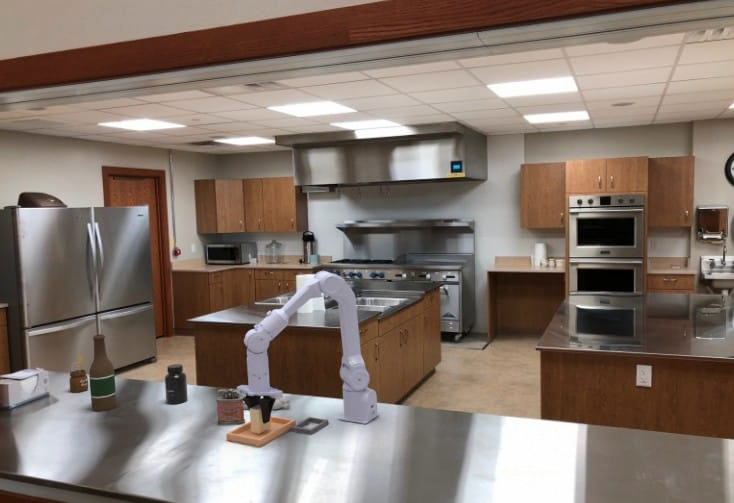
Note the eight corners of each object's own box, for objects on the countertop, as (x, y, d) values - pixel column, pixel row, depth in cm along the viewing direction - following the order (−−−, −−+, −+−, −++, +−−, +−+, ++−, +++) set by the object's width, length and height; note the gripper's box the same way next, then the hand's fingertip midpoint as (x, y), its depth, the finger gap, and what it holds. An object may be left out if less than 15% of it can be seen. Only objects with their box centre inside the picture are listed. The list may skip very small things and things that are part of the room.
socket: (328, 424, 169) (328, 419, 168) (311, 434, 161) (311, 430, 161) (309, 420, 172) (309, 416, 172) (291, 431, 164) (291, 427, 164)
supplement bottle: (165, 405, 191) (162, 369, 190) (167, 399, 198) (164, 364, 197) (187, 403, 193) (184, 367, 192) (188, 396, 199) (186, 362, 199)
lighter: (246, 420, 174) (244, 387, 174) (242, 425, 171) (240, 391, 170) (220, 420, 175) (217, 387, 174) (216, 425, 172) (213, 391, 171)
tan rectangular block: (271, 427, 165) (269, 404, 164) (259, 433, 160) (258, 410, 160) (262, 425, 166) (261, 402, 166) (251, 431, 162) (249, 408, 161)
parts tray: (295, 426, 167) (295, 420, 167) (260, 447, 154) (259, 440, 154) (263, 421, 173) (263, 414, 173) (226, 440, 160) (226, 433, 160)
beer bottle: (121, 407, 192) (115, 334, 190) (96, 413, 187) (90, 339, 185) (112, 402, 198) (106, 331, 196) (88, 408, 192) (81, 335, 190)
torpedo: (231, 411, 183) (230, 391, 183) (237, 406, 188) (236, 386, 188) (287, 412, 181) (286, 391, 180) (292, 407, 185) (291, 386, 185)
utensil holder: (67, 393, 209) (64, 360, 208) (74, 388, 216) (71, 356, 215) (84, 392, 210) (82, 359, 209) (91, 387, 216) (88, 355, 215)
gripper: (228, 374, 162) (231, 422, 163) (269, 380, 155) (272, 430, 156) (245, 367, 168) (248, 414, 170) (286, 372, 161) (289, 421, 162)
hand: (261, 421), depth 163 cm, fingers closed on tan rectangular block, 3 cm apart
